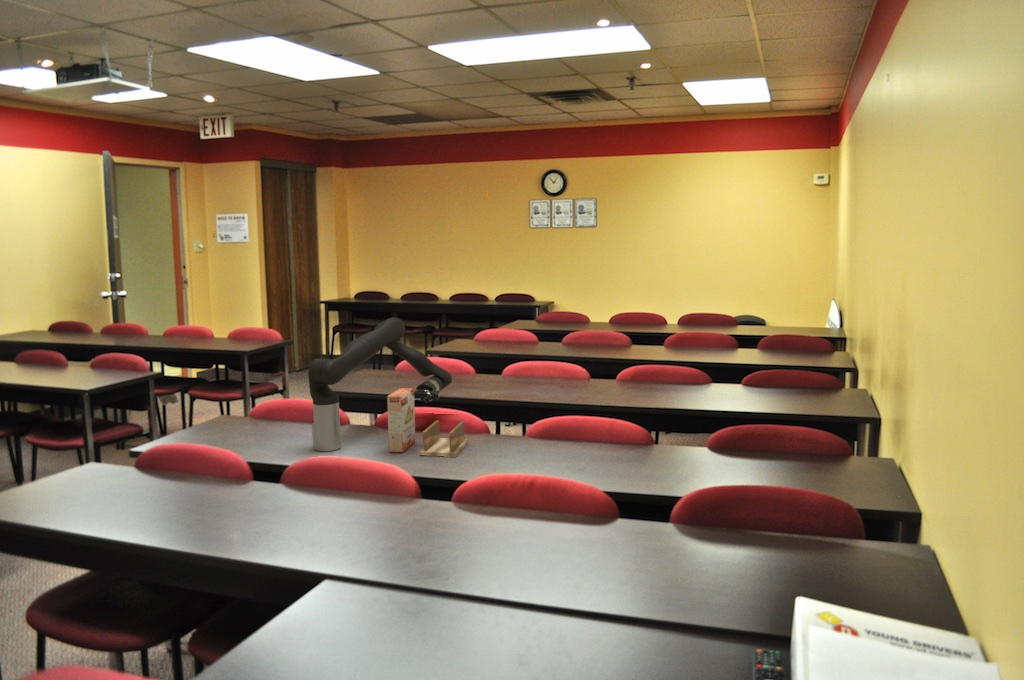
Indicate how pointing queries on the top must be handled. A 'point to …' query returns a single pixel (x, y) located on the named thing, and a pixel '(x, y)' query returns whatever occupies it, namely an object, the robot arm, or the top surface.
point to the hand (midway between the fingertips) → (414, 399)
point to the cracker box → (401, 419)
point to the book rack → (443, 441)
